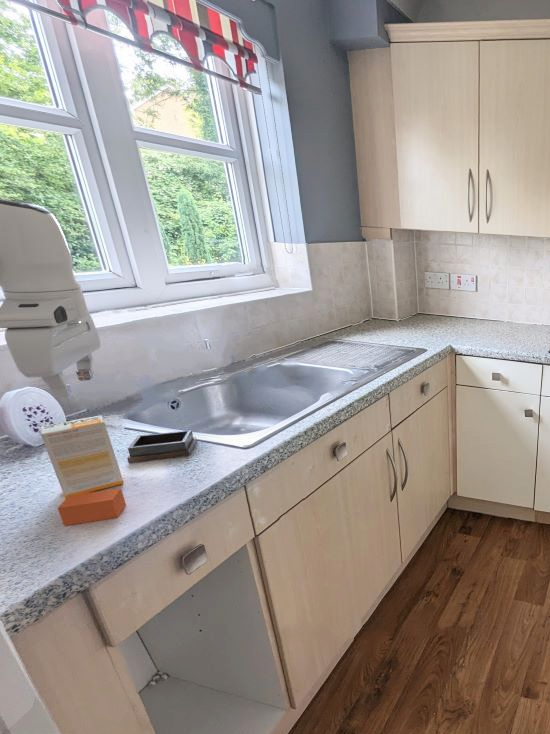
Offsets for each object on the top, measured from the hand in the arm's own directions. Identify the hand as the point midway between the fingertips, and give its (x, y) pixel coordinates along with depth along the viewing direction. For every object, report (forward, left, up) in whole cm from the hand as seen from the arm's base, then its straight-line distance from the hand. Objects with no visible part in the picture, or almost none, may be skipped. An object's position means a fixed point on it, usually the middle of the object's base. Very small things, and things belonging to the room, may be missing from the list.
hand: (75, 387), depth 79 cm
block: (+2, -10, -20) cm, 23 cm away
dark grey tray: (+6, +14, -20) cm, 25 cm away
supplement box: (-2, +1, -20) cm, 20 cm away
